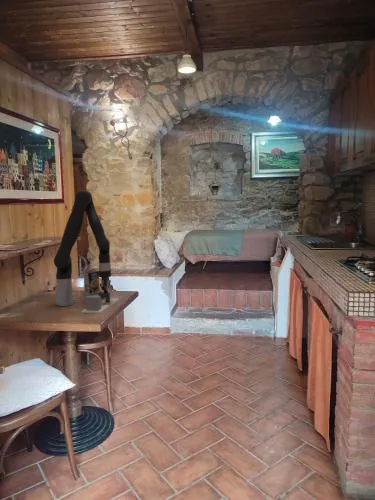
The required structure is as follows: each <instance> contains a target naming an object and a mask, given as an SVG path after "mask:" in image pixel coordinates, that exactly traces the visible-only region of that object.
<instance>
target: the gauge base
mask: <svg viewBox="0 0 375 500" xmlns="http://www.w3.org/2000/svg"><path fill="white" fill-rule="evenodd" d="M84 301H85V308H84V309H82V310H81V311H80V312H81V314H102V313H103V312H105V311H106V310H107V309H109V308H110V307H112V306H113V305H114V304H116V303H117V302H119V301H120V299H119V298H113V297H112V298H111V297H110V302H111V304H107V303H105V304H104V305H102V306H101V296H98V295H86V296H85V297H84Z"/></svg>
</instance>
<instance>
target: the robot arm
mask: <svg viewBox="0 0 375 500" xmlns="http://www.w3.org/2000/svg"><path fill="white" fill-rule="evenodd" d="M85 214H86V217H87V220H88V224H89V227H90V230H91V232H92V234H93V236H94V239H95V240H94V241H95V243H96V245H97V247H98V271H99V278H101V281H100V282H99V284H100V288H101V289H100V290H102V291H103V292H109V289H110V286H111V282H112V281H111V279H110V277H111V276H112V271H111V270H112V269H111V268H112V266H111V256H110V250H111V248H110V247H111V245H110V241H109V239H108V238H107V235H106V234H105V230H104V227H103V225H102V222H101V220H100V218H99V216H98V214H97V211H96V208H95V205H94V199H93V196H92V193H91V192H90V191H89V190H86V189H80V190H78V191H77V192H76V194H75V198H74V201H73V206H72V210H71V213H70V215H69V217H68V220H67V222H66V225H65V228H64V230H63V233H62V237H61V242H60V244H59V247H58V249H57V252H56V254H55V256H54V258H53V264H54V266H55V267H56V274H55V281H56V283H55V284H56V290H55V300H56V301H55V302H56V306H58V307H68V306H72V305H73V304H74V299H73V297H74V296H73V283H72V274H73V267H72V266H73V265H72V262H73V261H72V258H71V253H72V249H73V247H74V245H75V244H76V242H77V240H78V239H79V236H80V234H81V230H82V226H83V221H84V217H85Z"/></svg>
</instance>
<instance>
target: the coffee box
mask: <svg viewBox="0 0 375 500" xmlns="http://www.w3.org/2000/svg"><path fill="white" fill-rule="evenodd" d="M83 283H84V284H83V287H84V295H86V296H95V295H97V294H98V293H99V292H101V289H100V288H101V286H100V277H99V270H89V271H84V272H83Z"/></svg>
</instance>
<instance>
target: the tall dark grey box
mask: <svg viewBox="0 0 375 500" xmlns="http://www.w3.org/2000/svg"><path fill="white" fill-rule="evenodd" d="M97 296H101V306H102V305H104V304H105V303H107V304H111V302H110V298H111V291H110V292H109V291H108V292H104V291H100V292H99V293H98V295H97Z"/></svg>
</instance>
